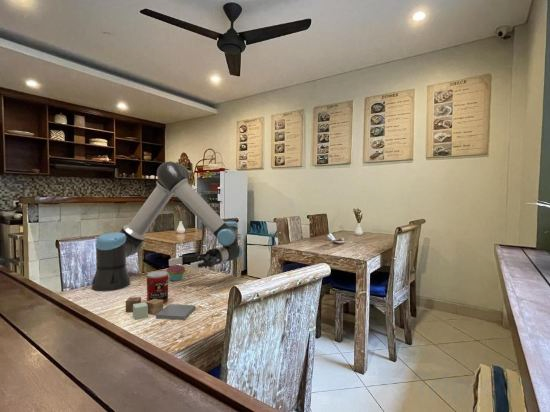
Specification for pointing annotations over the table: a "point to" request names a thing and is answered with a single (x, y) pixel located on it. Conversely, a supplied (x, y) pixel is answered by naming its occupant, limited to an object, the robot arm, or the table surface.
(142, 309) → the sage painted block
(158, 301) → the teak block
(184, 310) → the plate
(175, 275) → the cupcake
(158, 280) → the canned food
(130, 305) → the walnut block
